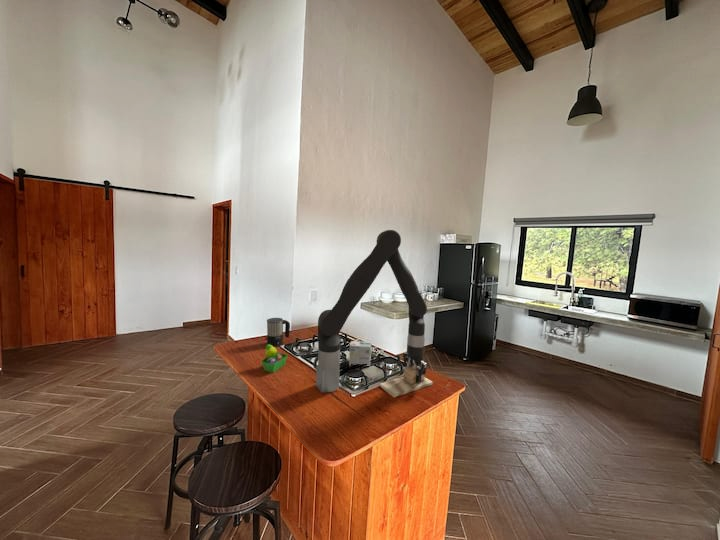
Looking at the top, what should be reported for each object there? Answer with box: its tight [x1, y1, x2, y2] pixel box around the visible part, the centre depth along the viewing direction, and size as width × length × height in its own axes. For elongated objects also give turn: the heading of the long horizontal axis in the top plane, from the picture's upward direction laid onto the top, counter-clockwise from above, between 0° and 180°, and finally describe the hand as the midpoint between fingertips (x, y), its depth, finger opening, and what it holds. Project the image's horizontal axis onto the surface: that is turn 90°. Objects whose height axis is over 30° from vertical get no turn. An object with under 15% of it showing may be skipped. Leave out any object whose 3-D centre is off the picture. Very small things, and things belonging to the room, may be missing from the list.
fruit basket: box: [260, 344, 288, 373], centre depth 140 cm, size 11×9×11 cm
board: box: [379, 376, 434, 398], centre depth 128 cm, size 22×10×1 cm, turn 122°
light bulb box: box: [348, 340, 372, 367], centre depth 147 cm, size 11×7×11 cm, turn 84°
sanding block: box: [403, 365, 426, 385], centre depth 130 cm, size 8×5×6 cm, turn 122°
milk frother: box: [266, 317, 291, 348], centre depth 172 cm, size 14×16×15 cm
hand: (413, 379), depth 130 cm, fingers closed on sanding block, 5 cm apart
